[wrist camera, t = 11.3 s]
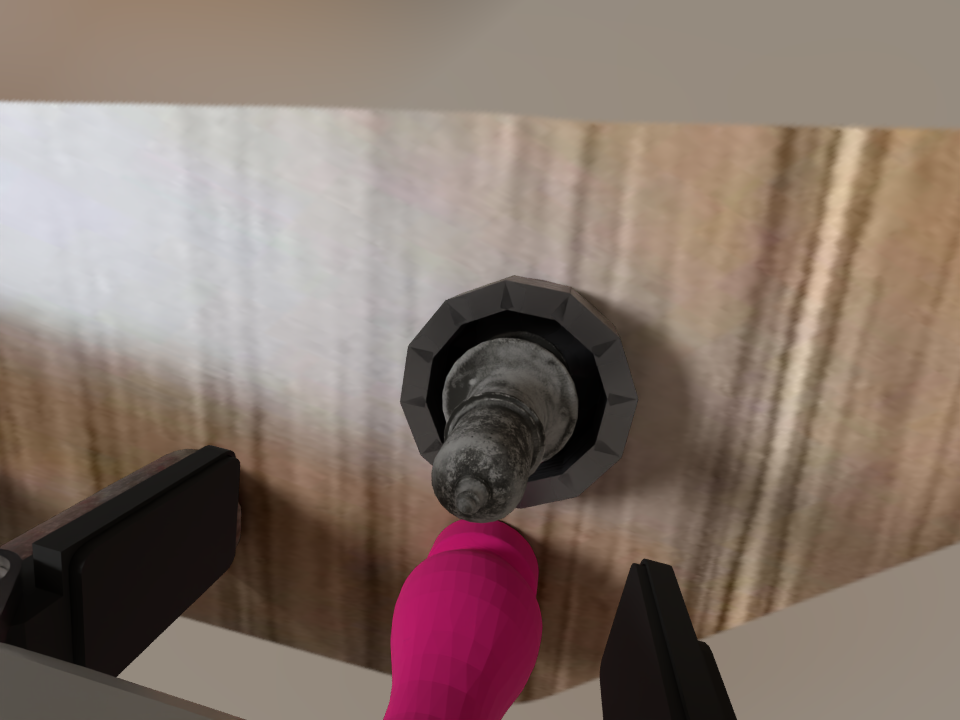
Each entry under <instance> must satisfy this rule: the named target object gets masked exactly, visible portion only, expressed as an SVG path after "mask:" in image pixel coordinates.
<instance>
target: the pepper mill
mask: <svg viewBox="0 0 960 720" xmlns="http://www.w3.org/2000/svg"><path fill="white" fill-rule="evenodd" d="M538 574H539V569H538V563H537V559H536V556H535V554H534V552H533V550H532V548H531V546H530V545H529V543H528V542H527V541H526V540H525V539H524V538H523V537H522V536H521V535H520V534H519V533H518V532H517V531H516V530H514V529H513V528H511V527H510V526H508V525H506V524H505V523H503V522H500V521H494V522H488V523H474V522H469V521H466V520H463V519H462V520H459V521H457V522H454V523H452V524H451V525H449V526H448V527H446V528H445V529H444V530H443V531H442V532H441V533H440V534H439V536H438V537H437V539H436V541H435V543H434V545H433V547H432V549H431V551H430V553H429V555H428V557H427V559H426V560H424V561H423V562H422V563H420V564H419V565H418V566H417V567H415V569H414V570H413V571H412V572H411V574H410V575H409V576H408V577H407V579H406V581H405V583H404V584H403V586H402V589H401V592H400V594H399V597H398V600H397V602H396V605H395V610H394V615H393V621H392V631H391V663H392V691H391V696H390V702H389V705H388V708H387V711H386V713H385V716H384V719H383V720H501V719H502V717H503V716H504V714H505V713H506V712H507V710H508V709H509V707H510V706H511V705H512V704H513V702H514V701H515V700H516V698H517V697H518V696H519V694H520V693H521V692H522V690H523V688H524V687H525V685H526V683H527V681H528V679H529V677H530V674H531V672H532V670H533V668H534V666H535V663H536V660H537V656H538V652H539V647H540V643H541V637H542V617H541V612H540V608H539V604H538V602H537V599H536V593H537V585H538Z"/></svg>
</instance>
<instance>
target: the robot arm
mask: <svg viewBox="0 0 960 720" xmlns="http://www.w3.org/2000/svg"><path fill="white" fill-rule="evenodd" d="M239 477H240V461H239V460H238V459H237V458H236V456H235V453H234V452H233V451H231V450H227V449H223V448H219V447H215V446H211V445H208V446H205V447H203V448H201V449H200V450H198V451H196V452H194V453H192V454H191V455H189V456H187V457H185V458H183V459H182V460H180V461H178V462H176V463H175V464H173V465H171V466H169V467H167V468H166V469H164V470H162V471H160V472H158V473H157V474H155V475H153V476H151V477H150V478H148V479H146V480H144V481H142V482H141V483H139V484H137V485H135V486H133V487H132V488H130V489H128V490H126V491H125V492H123V493H121V494H119V495H117V496H116V497H114V498H112V499H110V500H108V501H107V502H105V503H103V504H101V505H100V506H98V507H96V508H94V509H92V510H91V511H89V512H87V513H85V514H83V515H82V516H80V517H78V518H76V519H75V520H73V521H71V522H69V523H67V524H66V525H64V526H62V527H60V528H58V529H57V530H55V531H53V532H51V533H50V534H48V535H46V536H44V537H42V538H41V539H39V540H37V541H35V542H33V543H32V550H33V554H32V555H30V556H29V557H27V558H25V559H24V560H22V559H21V558H20V556H19V555H18V554H17V553H15V552H12V551H10V550H6V549H0V720H245V719H242V718H239V717H236V716H233V715H230V714H227V713H224V712H221V711H218V710H214V709H212V708H209V707H206V706H202V705H200V704H196V703H193V702H190V701H187V700H184V699H181V698H178V697H175V696H172V695H168V694H166V693H163V692H159V691H156V690H153V689H150V688H147V687H144V686H141V685H138V684H135V683H132V682H129V681H126V680H123V679H120V678H116V677H117V676H118V675H119V674H120V673H121V672H122V671H123V670H124V669H125V668H126V667H127V666H128V665H129V664H130V663H131V662H132V661H133V660H134V659H136V657H138V656H139V655H140V654H141V653H142V652H143V651H144V650H145V649H146V648H147V647H148V646H149V645H150V644H151V643H152V642H153V641H154V640H155V639H156V638H157V637H158V636H159V635H160V634H161V633H162V632H164V630H166V629H167V628H168V626H170V625H171V624H172V623H173V622H174V621H175V620H176V619H177V618H178V617H179V616H180V615H181V614H182V613H183V612H184V611H185V610H186V609H187V608H188V607H189V606H190V605H191V604H193V603H194V602H195V601H196V600H197V599H198V598H199V597H200V596H201V595H202V594H203V593H204V592H205V591H206V590H207V589H208V588H209V587H210V586H211V585H212V584H213V583H214V582H215V581H216V580H217V579H218V578H219V577H220V576H221V575H223V574H224V573H225V572H226V571H227V569H228V568H229V567H230V565H231V564H232V562H233V560H234V557H235V549H236V531H237V513H238V495H239ZM600 686H601V699H602V710H603V720H737V718H736V716H735V713H734V710H733V707H732V705H731V702H730V699H729V697H728V694H727V691H726V688H725V686H724V683H723V680H722V678H721V675H720V672H719V670H718V667H717V664H716V662H715V659H714V656H713V653H712V651H711V649H710V647H709V646H708V645H707V644H706V643H705V642H702V641H698V640H697V637H696V634H695V632H694V629H693V626H692V623H691V620H690V617H689V614H688V611H687V608H686V605H685V603H684V600H683V597H682V594H681V591H680V588H679V585H678V582H677V579H676V576H675V573H674V571H673V568H672V566H670V565H667V564H663V563H660V562H656V561H652V560H648V559H643V560H642V561H641V563H640V564H636V563H633V564H632V565H631V568H630V571H629V574H628V577H627V580H626V584H625V587H624V590H623V593H622V596H621V600H620V603H619V606H618V609H617V612H616V616H615V619H614V622H613V625H612V628H611V632H610V635H609V638H608V641H607V644H606V648H605V651H604V654H603V657H602V661H601V666H600Z"/></svg>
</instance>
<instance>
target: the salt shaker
mask: <svg viewBox="0 0 960 720" xmlns="http://www.w3.org/2000/svg"><path fill="white" fill-rule="evenodd" d="M442 396H443V412H444V416H445V419H446V426H445V430H444V444H443V446H442V447H441V449H440V451H439V452H438V454H437V455H436V457H435V460H434V464H433V467H432V486H433V489H434V493H435V495H436V497H437V498H438V500H439V502H440V503H441V505H442V506H443V507H444V508H445V509H446V510H447V511H449V512H450V513H451V514H453V515H455V516H456V517H458V518H460V519H463V520H466V521H469V522H474V523H488V522H494V521H497V520H499V519H502V518H504V517H505V516H507V515H508V514H509V513H511V512H512V511H513V510H514V509H515V507H516V506H517V505H518V503H519V502H520V500H521V499H522V498H523V495H524V492H525V489H526V486H527V481H528V477H529V476H530V475H531V474H533V473H534V472H535V470H536V469H537V468H538V466H539V465H540V463H542V462H544V461H547V460H549V459H550V458H551V457H553V456H554V455H555V454H556V453H558V452H559V451H560V450H561V449H562V448H563V447H564V446H565V444H566V443H567V441H568V440H569V438H570V437H571V436H572V434H573V431H574V428H575V425H576V422H577V419H578V396H577V392H576V388H575V384H574V381H573V380H572V377H571V373H570V369H569V365H568V363H567V361H566V360H565V358H564V356H563V354H562V353H561V352H560V351H559V349H558V348H557V347H556V346H555V345H554V344H553V343H552V342H550V341H548V340H547V339H545V338H543V337H542V336H540V335H537V334H534V333H530V332H527V331H509V332H505V333H500V334H497V335H495V336H494V337H492V338H490V339H488V340H486V341H485V342H482V343H480V344H478V345H477V346H475V347H473V348H471V349H469V350H467V351H466V352H465V353H464V354H463V355H462V356H461V357H460V358H459V359H458V360H457V361H456V362H455V363H454V365H453V367H452V369H451V370H450V372H449V374H448V376H447V377H446V381H445V385H444V389H443V393H442Z"/></svg>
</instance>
